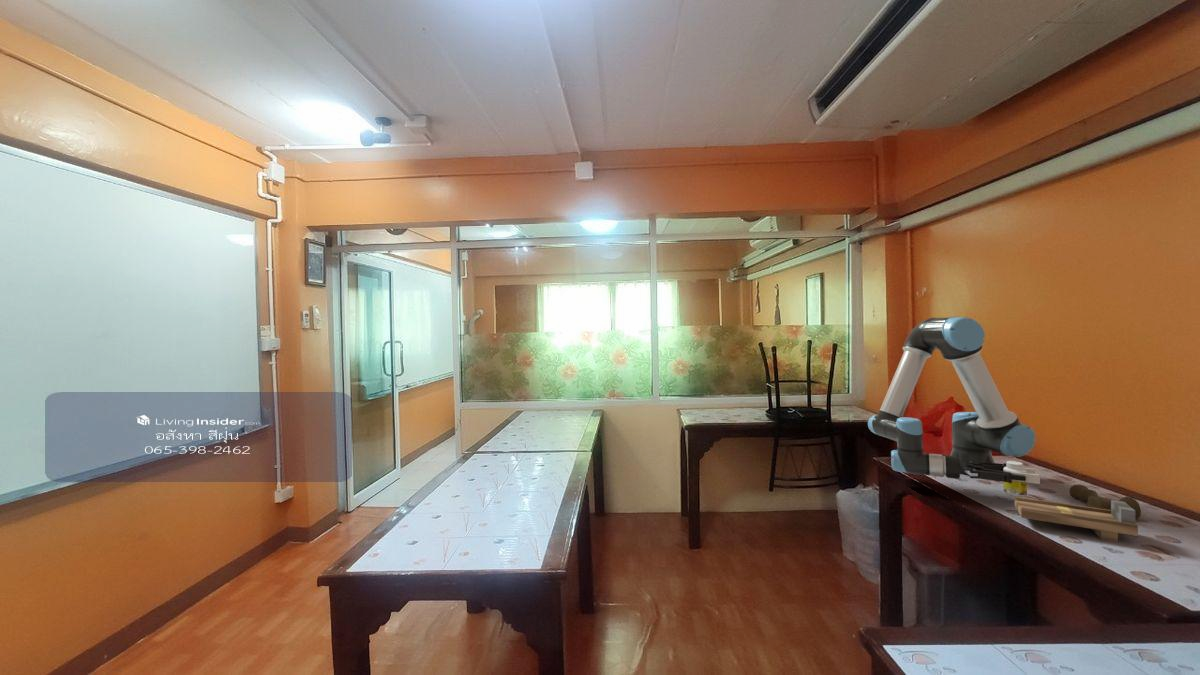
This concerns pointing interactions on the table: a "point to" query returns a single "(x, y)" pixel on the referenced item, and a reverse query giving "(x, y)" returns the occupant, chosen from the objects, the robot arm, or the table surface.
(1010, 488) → the supplement bottle
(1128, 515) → the wooden rack
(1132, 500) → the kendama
